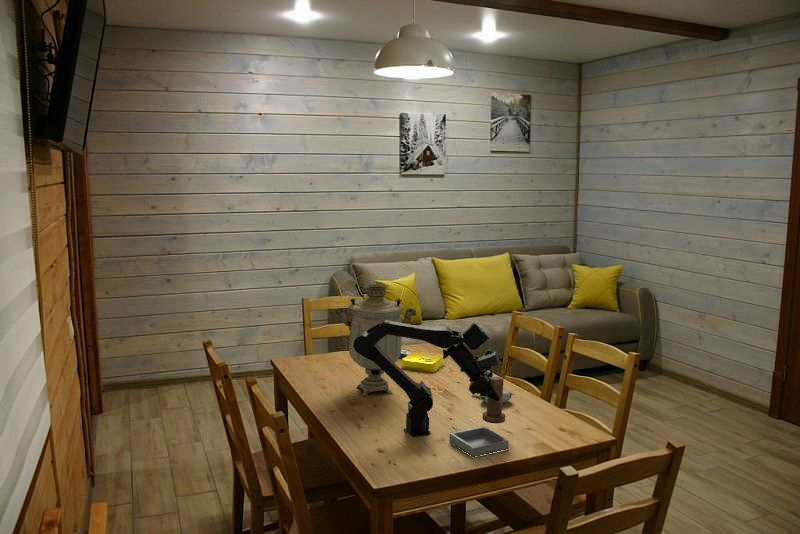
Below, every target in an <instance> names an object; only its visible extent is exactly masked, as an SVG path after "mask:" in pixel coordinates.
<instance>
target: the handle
mask: <svg viewBox="0 0 800 534" xmlns="http://www.w3.org/2000/svg"><path fill="white" fill-rule="evenodd" d="M490 378H491V386H492V387H493V389H494V390H495V392H496V393H497V395H498V396H499V398H500V400H499V401H496V400H493V399H491V398H489V397H487V403H486V411H484V412H482V421H484V422H486V423H490V424H495V425H496V424H502V423H504V422H506V414H505V413H504V412H503V403H502V398H503V389H504V378H503V377H500V376H493V377H489V379H490Z"/></svg>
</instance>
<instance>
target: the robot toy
mask: <svg viewBox="0 0 800 534" xmlns="http://www.w3.org/2000/svg"><path fill="white" fill-rule="evenodd" d="M476 394H477V395H479V397H478V398H479V399H481V400H483V401H484V402H485V403H486V404H487V396H484V395H482V394H479V393H475V395H476ZM512 395H516V393H512V392H510V391H509V390H507V389H505V388H503V398H502V404H504V403H507V402H509V401H510V400H511V398H512Z"/></svg>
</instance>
